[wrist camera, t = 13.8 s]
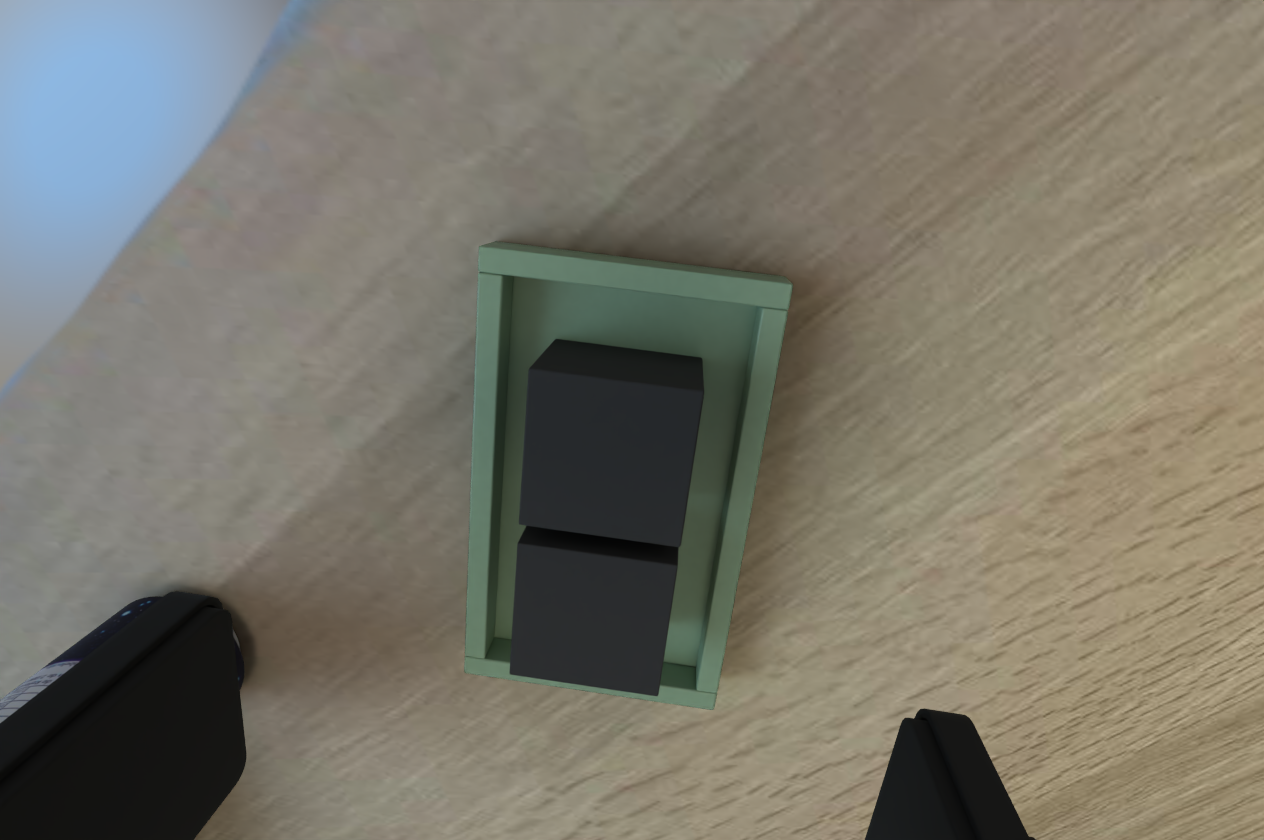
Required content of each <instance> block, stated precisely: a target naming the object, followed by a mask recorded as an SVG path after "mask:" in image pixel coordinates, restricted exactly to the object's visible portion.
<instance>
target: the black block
mask: <svg viewBox="0 0 1264 840" xmlns="http://www.w3.org/2000/svg"><path fill="white" fill-rule="evenodd" d="M678 551H679V547H674V546H667V545H660V544H653V543H645V542H638V541H631V540H624V539H617V538H610V537H603V536H596V535H589V534H582V533H575V532H568V531H561V530H554V529H546V528H539V527H532V526H526V527H525V529H524V531H523V533H522V535H521V537H520V539H519V541H518V544H517V558H516V574H515V590H514V607H513V623H512V639H511V655H510V671H509V673H510V675H516V676H523V677H530V678H537V679H543V680H550V681H557V682H563V683H570V684H577V685H584V686H590V687H597V688H604V689H610V690H617V691H624V692H630V693H637V694H644V695H651V696H658V694H659V688H660V681H661V675H662V668H663V661H664V655H665V648H666V642H667V635H668V628H669V622H670V615H671V609H672V602H673V595H674V589H675V582H676V576H677V569H678Z"/></svg>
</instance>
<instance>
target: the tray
mask: <svg viewBox="0 0 1264 840" xmlns="http://www.w3.org/2000/svg"><path fill="white" fill-rule="evenodd" d="M478 271H479V274H478V295H477V324H476V352H475V380H474V409H473V437H472V466H471V494H470V522H469V551H468V579H467V608H466V636H465V655H466V656H465V666H464V671H465V673H468V674H475V675H481V676H488V677H495V678H502V679H508V680H515V681H522V682H528V683H535V684H542V685H548V686H555V687H562V688H568V689H575V690H582V691H589V692H595V693H602V694H609V695H615V696H622V697H629V698H635V699H642V700H649V701H655V702H662V703H669V704H675V705H682V706H689V707H696V708H702V709H709V710H713V709H714V707H715V702H716V696H717V691H718V686H719V681H720V675H721V670H722V665H723V659H724V654H725V649H726V643H727V638H728V632H729V627H730V622H731V616H732V611H733V606H734V600H735V595H736V590H737V584H738V579H739V573H740V568H741V563H742V557H743V552H744V547H745V541H746V536H747V530H748V525H749V520H750V514H751V509H752V504H753V498H754V493H755V488H756V482H757V477H758V471H759V466H760V461H761V455H762V450H763V445H764V439H765V434H766V428H767V423H768V418H769V412H770V407H771V402H772V396H773V391H774V385H775V380H776V375H777V369H778V364H779V359H780V353H781V348H782V343H783V337H784V332H785V326H786V321H787V316H788V311H787V310H788V309H789V305H790V300H791V295H792V289H793V284H792V283H791V282H790V281H789V280H788V279H787V278H786V277H785V276H777V275H769V274H761V273H752V272H744V271H736V270H728V269H719V268H711V267H703V266H695V265H687V264H678V263H670V262H662V261H654V260H645V259H637V258H629V257H621V256H613V255H604V254H596V253H588V252H580V251H572V250H563V249H555V248H547V247H539V246H530V245H522V244H514V243H506V242H498V241H495V242H492V243H488V244H485V245H482V246H479V261H478ZM555 339H562V340H570V341H578V342H585V343H593V344H601V345H609V346H616V347H624V348H632V349H640V350H647V351H655V352H663V353H670V354H678V355H686V356H694V357H701V358H702V360H703V377H704V399H703V405H702V412H701V418H700V425H699V431H698V438H697V444H696V451H695V457H694V464H693V470H692V477H691V483H690V490H689V496H688V503H687V509H686V516H685V522H684V529H683V535H682V542H681V546H680V547H679V551H678V569H677V576H676V582H675V589H674V595H673V602H672V609H671V615H670V622H669V628H668V635H667V642H666V648H665V655H664V661H663V668H662V675H661V681H660V688H659V694H658V696H651V695H644V694H637V693H630V692H624V691H617V690H610V689H604V688H597V687H590V686H584V685H577V684H570V683H563V682H557V681H550V680H543V679H537V678H530V677H523V676H516V675H510V673H509V671H510V655H511V639H512V623H513V607H514V590H515V574H516V558H517V544H518V541H519V539H520V537H521V535H522V533H523V531H524V529H525V527H526V526H525V525H520V524H519V510H520V494H521V479H522V463H523V448H524V432H525V416H526V401H527V385H528V370H529V368H530V367H531V366H532V365H533V363H534V362H535V361H536V360H537V359H538V358H539V357H540V356H541V354H542V353H543V352H544V351H545V350H546V349H547V348H548V347H549V345H550V344H551V343H552V342H553V341H554V340H555Z"/></svg>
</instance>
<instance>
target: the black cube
mask: <svg viewBox="0 0 1264 840" xmlns="http://www.w3.org/2000/svg"><path fill="white" fill-rule="evenodd" d="M703 399H704V377H703V360H702V358H701V357H694V356H686V355H678V354H670V353H663V352H655V351H647V350H640V349H632V348H624V347H616V346H609V345H601V344H593V343H585V342H578V341H570V340H562V339H555V340H554V341H553V342H552V343H551V344H550V345H549V347H548V348H547V349H546V350H545V351H544V352H543V353H542V354H541V356H540V357H539V358H538V359H537V360H536V361H535V362H534V363H533V365H532V366H531V367H530V368H529V370H528V385H527V401H526V416H525V432H524V448H523V463H522V479H521V494H520V510H519V524H520V525H525V526H532V527H539V528H546V529H554V530H561V531H568V532H575V533H582V534H589V535H596V536H603V537H610V538H617V539H624V540H631V541H638V542H645V543H653V544H660V545H667V546H674V547H680V546H681V542H682V535H683V529H684V522H685V516H686V509H687V503H688V496H689V490H690V483H691V477H692V470H693V464H694V457H695V451H696V444H697V438H698V431H699V425H700V418H701V412H702V405H703Z"/></svg>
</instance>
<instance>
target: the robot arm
mask: <svg viewBox="0 0 1264 840" xmlns="http://www.w3.org/2000/svg"><path fill="white" fill-rule="evenodd" d="M245 762H246V746H245V737H244V727H243V718H242V709H241V700H240V691H239V682H238V673H237V664H236V654H235V645H234V636H233V627H232V619H231V615H230V613H229V612H228V611H227V610H224V609H223V607H222V603H221V602H220V601H219V599H218V598H215V597H211V596H205V595H198V594H192V593H186V592H179V591H175V592H170V593H168V594H166V595H165V596H163V597H162V598H160V599H159V600H158V601H157V602H155V603H154V604H153V605H151V606H150V607H149V608H148V609H146V610H145V611H144V612H142V613H141V614H140V615H139V616H137V617H136V618H135V619H133V620H132V621H131V622H130V623H128V624H127V625H126V626H124V627H123V628H122V629H121V630H119V631H118V632H117V633H115V634H114V635H113V636H112V637H110V638H109V639H108V640H106V641H105V642H104V643H103V644H101V645H100V646H99V647H97V648H96V649H95V650H94V651H92V652H91V653H90V654H88V655H87V656H86V657H85V658H83V659H82V660H81V661H79V662H78V663H77V664H76V665H74V666H73V667H72V668H71V669H69V670H68V671H67V672H65V673H64V674H63V675H62V676H60V677H59V678H58V679H56V680H55V681H54V682H53V683H51V684H50V685H49V686H47V687H46V688H45V689H44V690H42V691H41V692H40V693H38V694H37V695H36V696H35V697H33V698H32V699H31V700H29V701H28V702H27V703H26V704H24V705H23V706H22V707H20V708H19V709H18V710H17V711H15V712H14V713H13V714H11V715H10V716H9V717H8V718H6V719H5V720H4V721H2V722H1V723H0V840H194V838H195V837H196V836H197V834H198V833H199V832H200V831H201V829H202V828H203V827H204V825H205V824H206V823H207V821H208V820H209V819H210V818H211V816H212V815H213V814H214V812H215V811H216V810H217V808H218V807H219V806H220V805H221V803H222V802H223V801H224V799H225V798H226V797H227V795H228V794H229V793H230V792H231V790H232V789H233V788H234V786H235V785H236V783H237V782H238V780H239V779H240V777H241V775H242V772H243V769H244V767H245ZM865 840H1036V839H1035V838H1033V837H1029V836H1028V834H1027V832H1026V830H1025V828H1024V826H1023V824H1022V822H1021V820H1020V818H1019V816H1018V814H1017V812H1016V810H1015V808H1014V806H1013V804H1012V802H1011V800H1010V798H1009V796H1008V794H1007V792H1006V789H1005V787H1004V785H1003V783H1002V781H1001V779H1000V777H999V775H998V773H997V771H996V769H995V767H994V765H993V763H992V761H991V759H990V757H989V755H988V753H987V751H986V749H985V747H984V744H983V742H982V740H981V738H980V736H979V734H978V732H977V730H976V728H975V726H974V724H973V723H972V721H971V720H970V718H969V717H967V716H966V715H961V714H955V713H948V712H942V711H936V710H929V709H920V710H919V711H918V712H917V714H916V716H915V718H914V719H912V718H905V719H904V720H903V721H902V723H901V726H900V729H899V732H898V735H897V738H896V742H895V745H894V748H893V751H892V754H891V758H890V761H889V764H888V767H887V770H886V774H885V777H884V780H883V783H882V787H881V790H880V793H879V796H878V799H877V803H876V806H875V809H874V812H873V815H872V819H871V822H870V825H869V828H868V832H867V835H866V838H865Z"/></svg>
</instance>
